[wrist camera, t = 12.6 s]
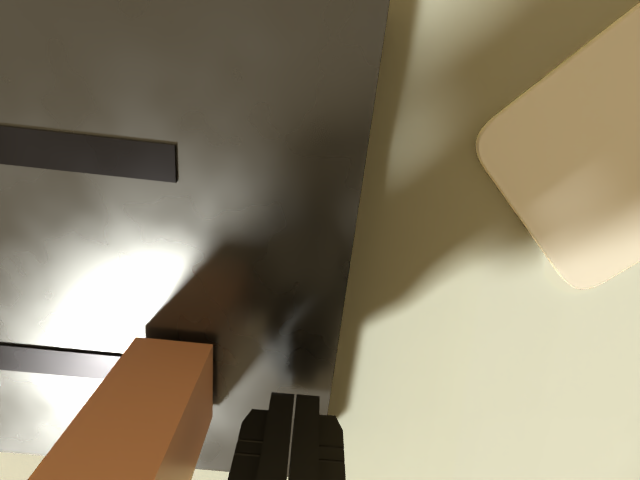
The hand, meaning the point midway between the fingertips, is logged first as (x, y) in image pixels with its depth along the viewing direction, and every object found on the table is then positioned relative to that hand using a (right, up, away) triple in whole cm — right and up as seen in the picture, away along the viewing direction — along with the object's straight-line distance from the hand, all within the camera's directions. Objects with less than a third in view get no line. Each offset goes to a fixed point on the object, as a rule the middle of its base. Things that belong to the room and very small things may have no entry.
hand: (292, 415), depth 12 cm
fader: (-4, +1, +1) cm, 4 cm away
